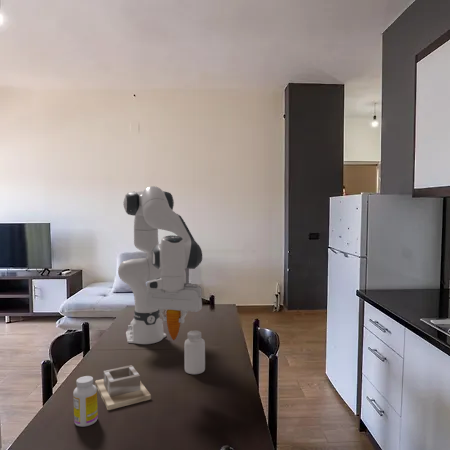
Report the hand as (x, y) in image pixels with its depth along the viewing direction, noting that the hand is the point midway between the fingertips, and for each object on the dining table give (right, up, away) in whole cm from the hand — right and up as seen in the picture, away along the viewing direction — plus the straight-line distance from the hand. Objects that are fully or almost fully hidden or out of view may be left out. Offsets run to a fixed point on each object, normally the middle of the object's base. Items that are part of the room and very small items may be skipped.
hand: (173, 322), depth 136 cm
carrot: (0, -7, 0) cm, 7 cm away
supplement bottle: (-23, -25, -20) cm, 40 cm away
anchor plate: (-18, -24, -2) cm, 29 cm away
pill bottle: (+6, -23, +15) cm, 28 cm away
